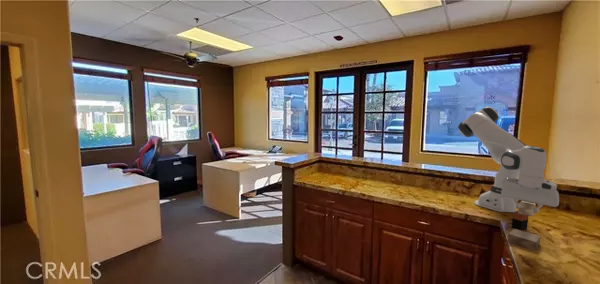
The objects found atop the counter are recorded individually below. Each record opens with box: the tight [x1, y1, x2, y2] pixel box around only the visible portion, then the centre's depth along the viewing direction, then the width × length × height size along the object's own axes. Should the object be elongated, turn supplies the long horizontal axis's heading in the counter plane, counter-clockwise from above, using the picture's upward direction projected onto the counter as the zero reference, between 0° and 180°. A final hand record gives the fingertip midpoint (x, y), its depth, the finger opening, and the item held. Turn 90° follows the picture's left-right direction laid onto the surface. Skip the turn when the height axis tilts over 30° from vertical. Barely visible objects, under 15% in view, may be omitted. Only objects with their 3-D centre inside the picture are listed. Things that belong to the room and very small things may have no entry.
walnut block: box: [507, 228, 541, 252], centre depth 123 cm, size 10×10×4 cm
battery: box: [511, 210, 530, 231], centre depth 139 cm, size 4×7×10 cm, turn 116°
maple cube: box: [517, 200, 537, 217], centre depth 122 cm, size 5×5×5 cm
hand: (526, 210), depth 122 cm, fingers closed on maple cube, 5 cm apart
